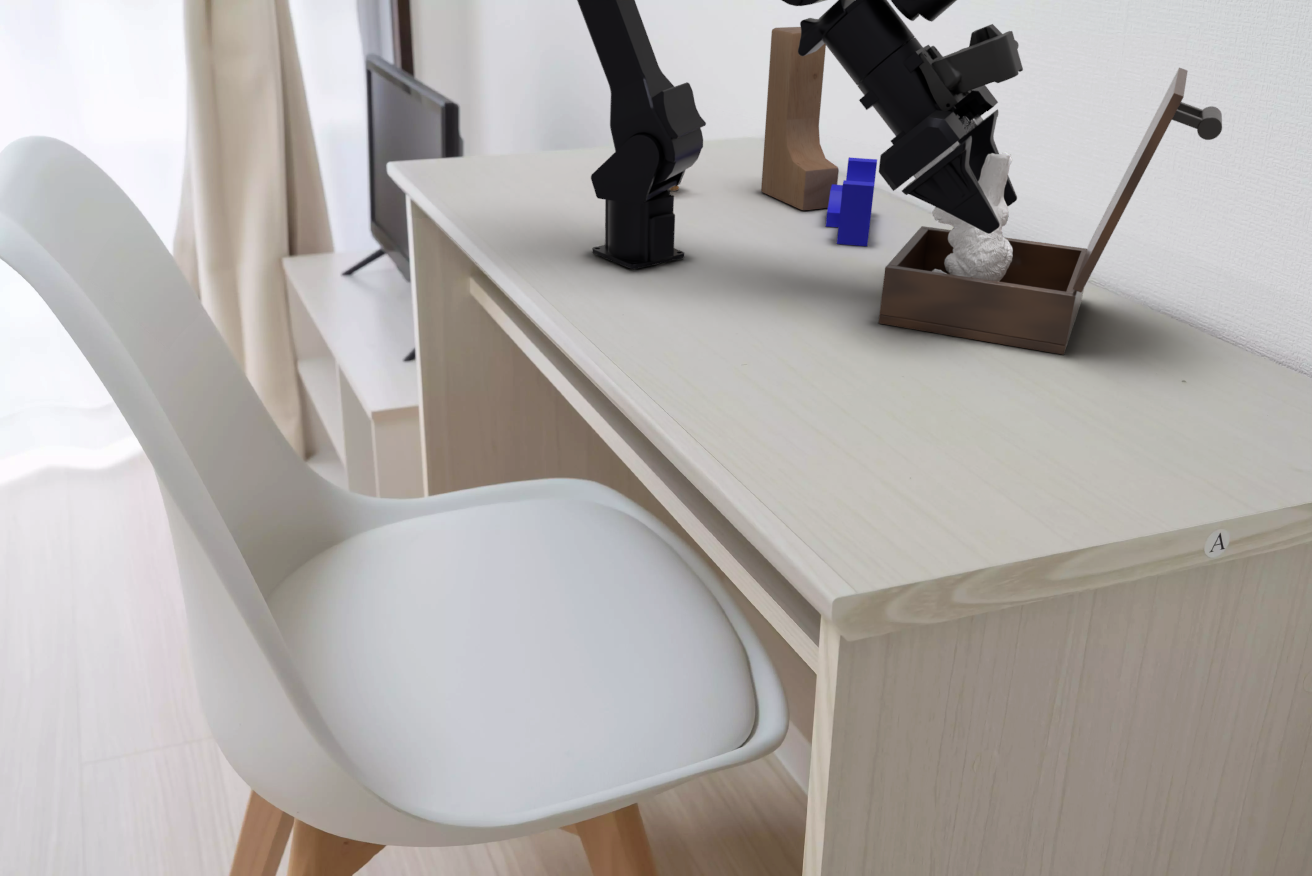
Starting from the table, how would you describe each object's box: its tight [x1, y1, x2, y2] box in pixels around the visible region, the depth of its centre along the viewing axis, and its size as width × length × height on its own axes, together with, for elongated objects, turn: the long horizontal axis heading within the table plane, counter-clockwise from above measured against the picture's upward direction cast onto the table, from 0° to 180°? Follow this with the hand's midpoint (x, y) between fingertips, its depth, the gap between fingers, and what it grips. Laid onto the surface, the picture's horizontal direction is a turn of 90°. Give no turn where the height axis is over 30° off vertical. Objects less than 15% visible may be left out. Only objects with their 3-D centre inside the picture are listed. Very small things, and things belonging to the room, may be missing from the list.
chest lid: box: [1073, 67, 1223, 292], centre depth 86 cm, size 15×14×4 cm
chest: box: [878, 225, 1087, 355], centre depth 94 cm, size 15×14×5 cm
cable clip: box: [825, 157, 878, 247], centre depth 116 cm, size 12×4×6 cm, turn 168°
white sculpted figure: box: [931, 151, 1013, 282], centre depth 93 cm, size 8×7×12 cm
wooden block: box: [760, 26, 840, 211], centre depth 123 cm, size 9×4×18 cm, turn 26°
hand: (1004, 216), depth 91 cm, fingers open, 9 cm apart
